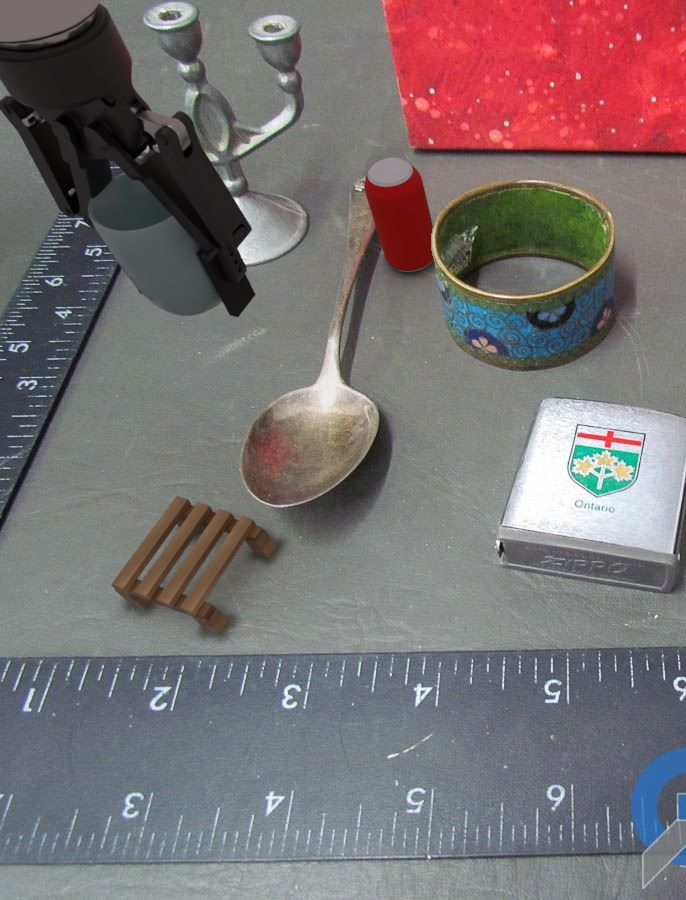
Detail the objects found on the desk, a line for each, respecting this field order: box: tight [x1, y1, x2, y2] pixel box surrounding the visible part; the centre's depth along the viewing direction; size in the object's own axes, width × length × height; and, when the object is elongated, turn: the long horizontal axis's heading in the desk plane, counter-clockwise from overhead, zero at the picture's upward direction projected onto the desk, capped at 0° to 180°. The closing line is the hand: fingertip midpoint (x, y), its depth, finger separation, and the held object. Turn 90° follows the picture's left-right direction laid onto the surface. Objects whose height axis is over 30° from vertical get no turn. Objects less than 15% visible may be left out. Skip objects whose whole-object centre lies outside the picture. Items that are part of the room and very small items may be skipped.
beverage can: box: [363, 157, 434, 273], centre depth 91 cm, size 6×6×12 cm
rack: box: [110, 495, 277, 636], centre depth 71 cm, size 9×9×4 cm
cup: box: [88, 172, 223, 317], centre depth 64 cm, size 8×8×10 cm
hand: (197, 294), depth 68 cm, fingers closed on cup, 8 cm apart
